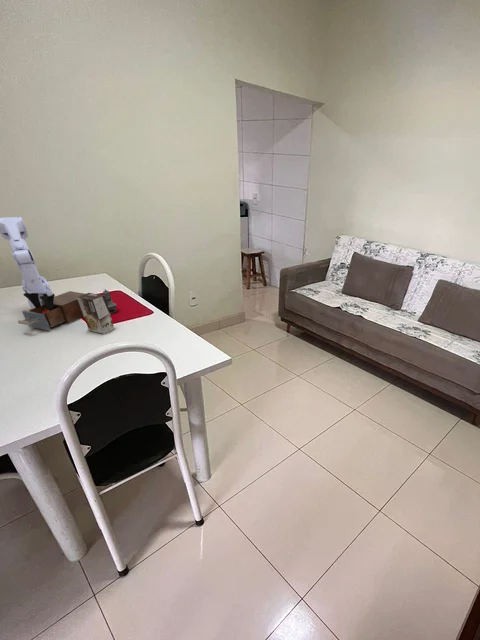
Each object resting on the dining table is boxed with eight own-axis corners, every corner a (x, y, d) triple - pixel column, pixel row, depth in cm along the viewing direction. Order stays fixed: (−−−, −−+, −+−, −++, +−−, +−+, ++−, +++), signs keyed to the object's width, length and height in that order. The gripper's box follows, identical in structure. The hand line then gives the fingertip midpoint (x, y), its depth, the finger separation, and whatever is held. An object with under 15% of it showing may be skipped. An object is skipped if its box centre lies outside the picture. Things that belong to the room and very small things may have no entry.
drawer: (37, 335, 141) (30, 319, 137) (17, 330, 143) (10, 315, 139) (75, 317, 156) (70, 303, 152) (57, 314, 159) (51, 300, 155)
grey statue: (113, 314, 163) (106, 291, 157) (102, 313, 164) (95, 290, 157) (120, 310, 168) (114, 287, 161) (110, 308, 169) (103, 286, 162)
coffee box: (115, 328, 150) (105, 295, 142) (103, 334, 145) (92, 299, 136) (99, 325, 153) (88, 292, 144) (88, 330, 147) (76, 296, 139)
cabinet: (69, 323, 153) (61, 305, 148) (48, 319, 156) (40, 301, 151) (95, 311, 166) (89, 294, 161) (75, 307, 168) (69, 291, 163)
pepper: (51, 317, 153) (47, 305, 150) (58, 319, 152) (53, 307, 148) (41, 321, 150) (36, 309, 146) (48, 323, 148) (43, 311, 145)
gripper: (10, 279, 138) (24, 309, 145) (36, 283, 135) (49, 314, 142) (26, 274, 144) (38, 303, 151) (52, 279, 141) (63, 308, 148)
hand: (44, 308), depth 147 cm, fingers open, 7 cm apart
